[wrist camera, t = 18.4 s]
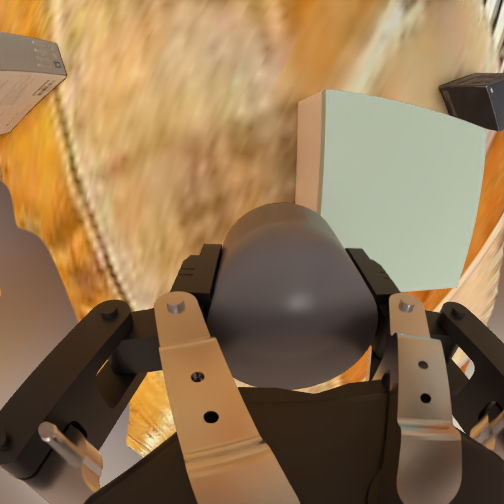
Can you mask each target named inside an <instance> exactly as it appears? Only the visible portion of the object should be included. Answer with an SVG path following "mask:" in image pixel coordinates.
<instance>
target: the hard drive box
mask: <svg viewBox="0 0 504 504" xmlns="http://www.w3.org/2000/svg"><path fill="white" fill-rule="evenodd" d="M65 78H66V72H65V69H64V66H63V63H62V60H61V56H60V53H59V50H58V47H57V44H56V43H53V42H49V41H45V40H40V39H36V38H31V37H26V36H21V35H15V34H9V33H3V32H0V135H2V134H6V133H10V132H11V131H12V129H13V128H14V127H15V126H16V125H17V124H18V123H19V122H20V121H21V120H22V119H23V117H24V116H25V115H26V114H27V113H28V112H29V111H30V110H31V109H32V108H33V107H34V106H35V105H36V104H37V103H38V102H39V101H40V100H41V99H42V98H43V97H44V96H46V95H47V94H48V93H49V92H50V91H51V90H52V89H53V88H54V87H55V86H56V85H58V84H59V83H60V82H61V81H62V80H63V79H65Z"/></svg>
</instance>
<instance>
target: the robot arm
mask: <svg viewBox="0 0 504 504" xmlns="http://www.w3.org/2000/svg"><path fill="white" fill-rule="evenodd" d="M345 250H346V252H347V254H348V255H349V257H350V258H351V260H352V262H353V263H354V265H355V267H356V268H357V270H358V272H359V273H360V275H361V277H362V278H363V280H364V282H365V283H366V285H367V287H368V288H369V290H370V292H371V294H372V295H373V297H374V300H375V302H376V305H377V310H378V325H377V330H376V333H375V336H374V339H373V341H372V343H371V349H370V352H369V354H368V363H367V373H366V381H364V382H356V383H348V384H345V385H342V386H339V387H336V388H333V389H330V390H327V391H324V392H320V393H316V394H312V393H305V392H298V391H292V390H287V389H281V388H276V387H272V388H259V387H238V388H237V386H236V383H235V381H234V379H233V377H232V374H231V372H230V370H229V368H228V365H227V363H226V361H225V358H224V356H223V353H222V351H221V349H220V346H219V344H218V341H217V339H216V338H215V337H211V336H210V334H209V331H208V329H207V326H206V323H207V318H208V313H209V308H210V304H211V299H212V295H213V290H214V285H215V280H216V276H217V271H218V267H219V262H220V257H221V253H222V245H221V244H204V245H203V248H202V250H201V253H200V255H191V256H189V257H188V258H187V259H186V260H184V261H183V263H182V266H181V268H180V270H179V272H178V275H177V277H176V279H175V282H174V284H173V286H172V289H171V291H170V293H167V294H164V295H162V296H161V297H159V298H158V299H157V300H156V302H155V304H154V308H152V309H148V310H142V311H135V312H131V311H130V307H129V305H128V304H127V303H126V302H124V301H121V300H108V301H105V302H102V303H100V304H98V305H97V306H96V307H94V308H93V309H92V310H91V311H90V312H89V313H88V314H87V315H86V316H85V317H84V318H83V319H82V320H81V321H80V322H79V323H78V324H77V325H76V326H75V327H74V329H72V330H71V331H70V332H69V333H68V335H67V336H66V337H65V338H64V339H63V340H62V341H61V342H60V343H59V344H58V345H57V346H56V347H55V348H54V349H53V351H51V353H50V354H49V355H48V356H47V357H46V358H45V359H44V360H43V361H42V362H41V363H40V364H39V366H38V367H37V368H36V369H35V370H34V371H33V372H32V373H31V375H30V376H29V377H28V378H27V379H26V380H25V382H24V383H23V384H22V385H21V386H20V387H19V389H18V390H17V391H16V392H15V393H14V395H13V396H12V397H11V398H10V399H9V401H8V402H7V403H6V404H5V405H4V407H3V408H2V409H1V411H0V466H1V467H2V468H3V469H5V470H6V471H8V472H9V474H10V475H11V476H13V477H14V478H16V479H17V480H19V481H20V482H22V483H23V484H25V485H27V486H28V487H30V488H32V489H33V490H34V491H35V492H37V493H38V494H39V495H40V496H41V497H42V498H44V499H45V500H46V501H47V502H49V503H50V504H504V344H503V342H502V341H501V340H500V339H499V338H497V337H496V335H495V334H494V333H492V331H490V330H489V329H488V328H487V327H486V326H485V325H484V324H483V323H482V322H481V321H480V320H479V319H478V318H477V317H476V316H475V315H474V314H473V313H471V312H470V311H469V310H468V309H467V308H466V307H464V306H463V305H461V304H459V303H456V302H446V303H445V304H444V305H443V306H442V309H441V311H440V313H438V312H432V311H426V310H425V309H424V306H423V304H422V302H421V301H420V300H419V299H417V298H416V297H414V296H412V295H409V294H405V293H401V292H400V290H399V289H398V288H397V286H396V285H395V283H394V282H393V281H392V279H390V277H389V275H388V274H387V273H386V271H385V270H384V268H383V267H382V266H381V265H380V264H378V263H377V262H376V261H374V260H372V259H370V258H369V257H368V255H367V254H366V253H365V251H364V250H363V249H362V248H345ZM458 347H460V348H461V349H462V350H463V351H464V352H465V353H466V355H467V356H468V357H469V358H470V359H471V360H472V361H473V363H474V366H475V371H474V374H473V375H472V377H471V378H470V380H469V379H468V378H467V377H466V376H465V374H464V373H463V372H462V371H461V369H460V368H459V367H458V366H457V365H456V364H455V362H454V361H453V360H452V359H451V358H452V357H453V355H454V353H455V352H456V350H457V348H458ZM107 359H108V361H107V363H106V364H105V365H104V367H103V368H102V369H101V370H100V372H99V373H98V374H97V372H98V371H99V369H100V368H101V367H102V365H103V364H104V363H105V362H106V360H107ZM159 370H163V374H164V379H165V384H166V389H167V394H168V398H169V403H170V407H171V411H172V415H173V419H174V423H175V427H176V432H175V433H174V434H173V435H172V436H170V437H169V438H168V439H167V440H166V441H164V442H163V443H162V444H161V445H159V446H158V447H157V448H156V449H154V450H153V451H152V452H150V453H149V454H148V455H147V456H145V457H144V458H143V459H141V460H140V461H139V462H137V463H136V464H135V465H133V466H132V467H131V468H129V469H128V470H127V471H125V472H124V473H122V474H121V475H120V476H118V477H117V478H115V479H114V480H112V481H111V482H110V483H108V484H107V485H105V486H104V487H102V488H100V484H99V478H100V476H101V472H102V468H103V460H102V457H101V455H100V453H99V449H100V447H101V446H102V445H103V443H104V441H105V440H106V438H107V436H108V435H109V433H110V431H111V430H112V428H113V427H114V425H115V424H116V422H117V420H118V419H119V417H120V415H121V414H122V412H123V411H124V409H125V408H126V406H127V404H128V403H129V401H130V400H131V398H132V396H133V395H134V393H135V392H136V390H137V389H138V387H139V385H140V384H141V382H142V381H143V379H144V378H145V376H146V374H147V372H152V371H159ZM96 375H97V376H96ZM452 415H453V416H454V418H455V419H456V420H457V422H458V423H459V425H460V426H461V428H462V429H463V430H464V432H465V433H466V434H465V433H464V432H462V431H461V430H459V429H458V428H456V427H455V426H454V425H453V421H452Z"/></svg>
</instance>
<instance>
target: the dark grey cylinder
mask: <svg viewBox="0 0 504 504" xmlns="http://www.w3.org/2000/svg"><path fill="white" fill-rule="evenodd" d="M377 325H378V310H377V305H376V302H375V300H374V297H373V295H372V294H371V292H370V290H369V288H368V287H367V285H366V283H365V282H364V280H363V278H362V277H361V275H360V273H359V272H358V270H357V268H356V267H355V265H354V263H353V262H352V260H351V258H350V257H349V255H348V254H347V252H346V250H345V249H344V247H343V246H342V244H341V243H340V241H339V239H338V238H337V236H336V235H335V233H334V232H333V230H332V229H331V227H330V226H329V224H328V223H327V222H326V221H325V220H324V219H323V218H322V217H321V216H320V215H319V214H317V213H316V212H314V211H313V210H311V209H309V208H307V207H304V206H301V205H297V204H293V203H272V204H267V205H264V206H260V207H258V208H256V209H253V210H251V211H250V212H248V213H246V214H245V215H244V216H242V217H241V218H240V219H239V220H238V221H237V222H236V223H235V224H234V225H233V226H232V228H231V229H230V231H229V232H228V234H227V236H226V238H225V241H224V244H223V248H222V253H221V257H220V262H219V267H218V271H217V276H216V280H215V285H214V290H213V295H212V299H211V304H210V308H209V313H208V318H207V323H206V326H207V329H208V331H209V334H210V336H211V337H215V338H216V339H217V341H218V344H219V346H220V349H221V351H222V353H223V356H224V358H225V361H226V363H227V365H228V368H229V370H230V372H231V374H232V377H233V378H235V379H237V380H239V381H241V382H243V383H246V384H248V385H252V386H255V387H259V388H272V387H276V388H281V389H287V390H294V389H301V388H306V387H311V386H315V385H318V384H321V383H324V382H326V381H328V380H331V379H333V378H335V377H336V376H338V375H340V374H342V373H343V372H345V371H346V370H348V369H349V368H350V367H352V366H353V365H354V364H355V363H356V362H357V361H358V360H359V359H360V358H361V357H362V356H363V355H364V353H365V352H366V351H367V349H368V348H369V346H370V345H371V343H372V341H373V339H374V336H375V333H376V330H377Z"/></svg>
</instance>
